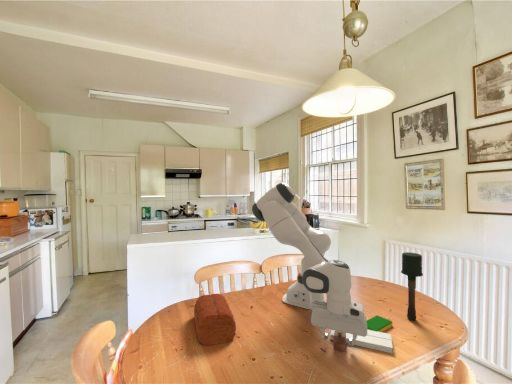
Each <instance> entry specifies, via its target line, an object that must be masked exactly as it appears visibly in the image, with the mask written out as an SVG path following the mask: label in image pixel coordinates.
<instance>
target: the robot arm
mask: <svg viewBox="0 0 512 384" xmlns="http://www.w3.org/2000/svg"><path fill="white" fill-rule="evenodd" d="M294 192H295V191H294V190H293V188H292V187H291V186H290V185H289V184H287V183H285V182H280V183H278V184H276V185H275V186H274V187H272V188H271V189H269V190H268V191H266V192H265V193H264V194H263V195H262V196H261V197H260V198H259V199H258V200H257V201H255V202H254V203H253V205H251V211H252V214H253V216H254V217H255V218H256V219H257V220H258V221H259V222H263V223H264V222H265V223H266V226H267V227H268V229H269V231H270V232H271V234H272V236H273V238H274V239H276V240H277V242H278V243H280V244H283V245H287V246H291V247H293V248H296V249H297V250H299V251H300V252H301V254H302V255H303V257H302V259H301V260H300V272H299V273H298V274H297V275H296V281H295V282H293V283H292V284H290V285H289V286H288V288H287V290H286V291H287V292H285V294H283V296H282V297H281V298H282V301H281V302H282V303H284V304H288V305H291V306H295V307H298V308H302V309H305V310H311V318H310V324H311V325H312V326H313V327H319V330H320V332H321V334H322V338H323V340H328V336H329V335H328V334H329V333H328V332H326V330H325V329H327V330H335V331H340V332H345V333H349V334H353V338H352V339H351V338H350V340H349V344H348V345H349V346H353V347H354V346H355V345H354V341H355V340H356V338H357V335H358V336H363V337H365V336H367V320H368V319H367V316H366V314H365V309H364V307H365V306H364V305H363V304H361V303H359V302H357V301H355V300H353V299H352V296H351V295H352V294H351V289H352V274H351V269H350V266H349V265H348V264H347V263H346V262H344V261H342V260H339V259H331V260H328V259H327V258H326V257H325V254H326V252H327V251H328V250H329V249H330V248H331V245H332V240H331V238H330V236H329V235H328V234H327V233H325V232H324V231H322V230H319V229H315V228H313V227H312V226H311V225H310V224H309V222H308V221H307V216H306V215H305V214H304V213H303V211H302V210H300V208H299V207H298V206H297V205H296V204H295V203H294V202H293V201H294V199H295V193H294ZM324 294H325V295H326V300H325V296H324Z"/></svg>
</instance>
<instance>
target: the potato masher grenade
mask: <svg viewBox="0 0 512 384" xmlns="http://www.w3.org/2000/svg"><path fill="white" fill-rule="evenodd" d="M400 273H401V274H403V275H405V276H407V288H408V292H407V293H408V294H407V295H408V298H407V300H408V301H407V302H408V305H407V306H408V307H407V311H406V318H407V319H408V321H411V322H412V321H413V322H414V321H416V320H417V310H416V287H417V285H416V284H417V283H416V282H417V277H419V278H420V277H423V276H424V274H423V256H422V254H419V253H415V252H407V251H406V252H402V254H401V271H400Z"/></svg>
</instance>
